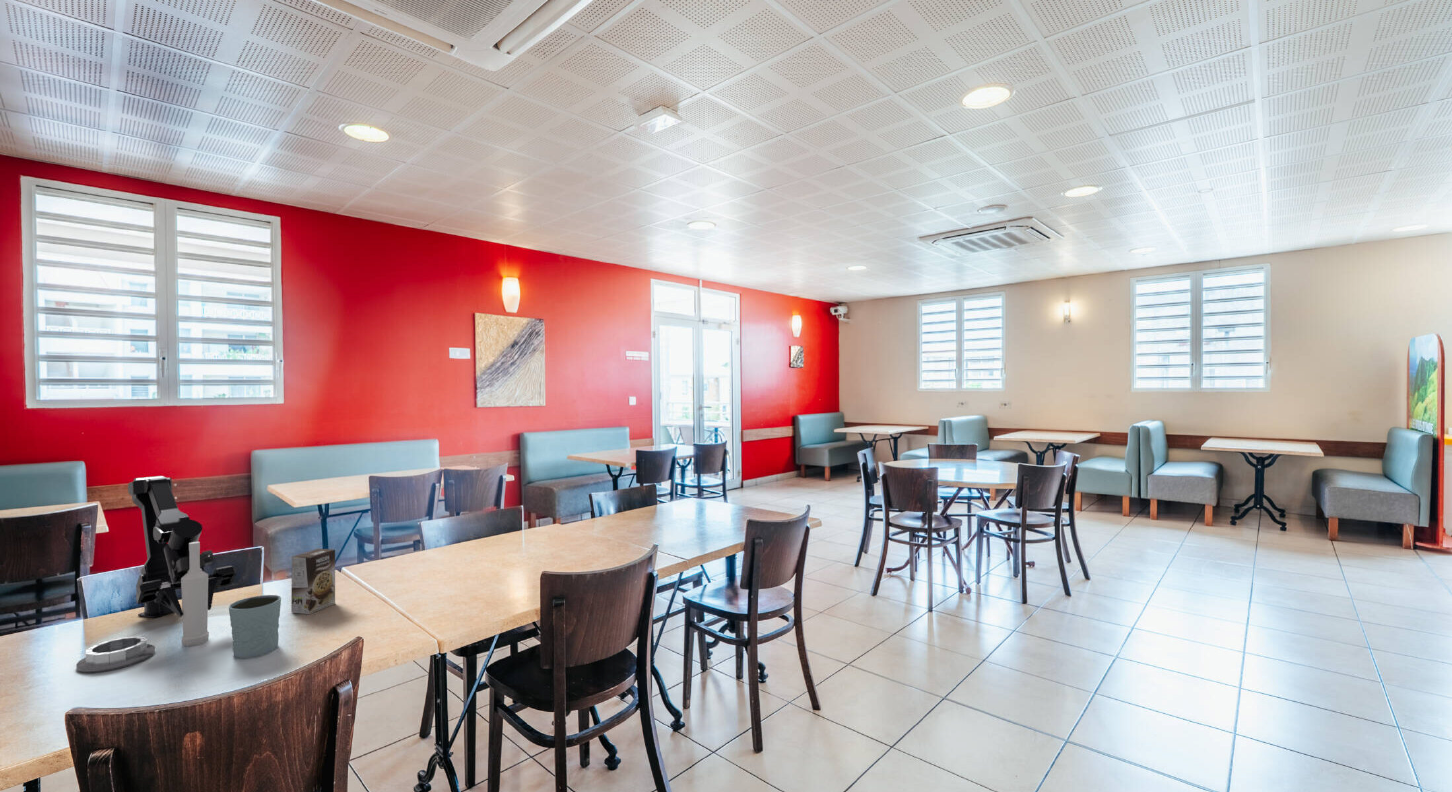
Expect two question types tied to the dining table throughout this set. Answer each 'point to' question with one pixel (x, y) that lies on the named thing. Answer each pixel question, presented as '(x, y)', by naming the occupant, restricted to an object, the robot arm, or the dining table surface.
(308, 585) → the coffee box
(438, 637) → the dining table surface
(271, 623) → the grey-green cup
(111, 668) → the grey ring
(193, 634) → the bottle
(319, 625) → the dining table surface
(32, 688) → the dining table surface
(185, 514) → the robot arm
